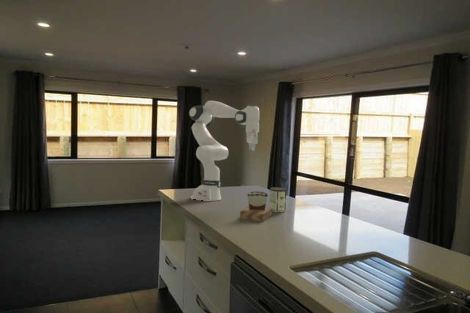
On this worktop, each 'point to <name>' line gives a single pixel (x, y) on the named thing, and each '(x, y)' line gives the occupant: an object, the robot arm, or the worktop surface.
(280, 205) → the coffee can
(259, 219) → the walnut block
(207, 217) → the worktop surface
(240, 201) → the worktop surface
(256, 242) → the worktop surface
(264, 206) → the food container
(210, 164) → the robot arm
